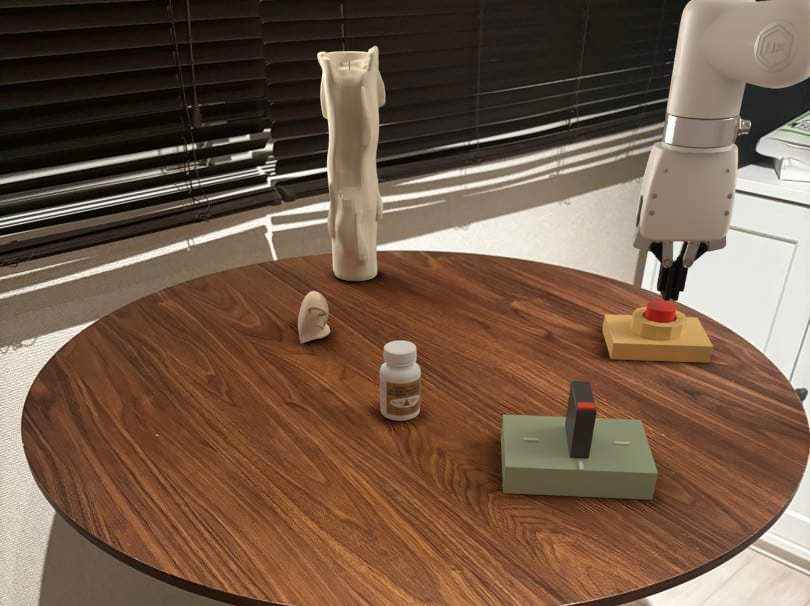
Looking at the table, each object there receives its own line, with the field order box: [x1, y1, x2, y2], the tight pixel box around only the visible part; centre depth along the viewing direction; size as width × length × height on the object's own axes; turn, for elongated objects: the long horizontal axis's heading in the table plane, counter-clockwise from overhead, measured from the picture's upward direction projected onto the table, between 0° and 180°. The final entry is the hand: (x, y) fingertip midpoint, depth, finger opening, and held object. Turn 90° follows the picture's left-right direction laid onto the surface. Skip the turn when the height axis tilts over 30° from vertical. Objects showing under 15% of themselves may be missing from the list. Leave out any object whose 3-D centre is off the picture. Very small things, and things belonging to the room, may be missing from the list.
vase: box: [316, 45, 386, 282], centre depth 114 cm, size 9×8×30 cm
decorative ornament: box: [297, 290, 331, 344], centre depth 104 cm, size 4×8×5 cm, turn 7°
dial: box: [565, 380, 598, 458], centre depth 77 cm, size 6×2×5 cm, turn 176°
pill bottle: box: [379, 340, 422, 422], centre depth 87 cm, size 4×4×8 cm
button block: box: [601, 305, 714, 364], centre depth 102 cm, size 12×9×4 cm
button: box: [645, 300, 678, 323], centre depth 101 cm, size 4×4×2 cm
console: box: [500, 414, 659, 501], centre depth 80 cm, size 14×10×3 cm
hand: (668, 296), depth 99 cm, fingers closed
